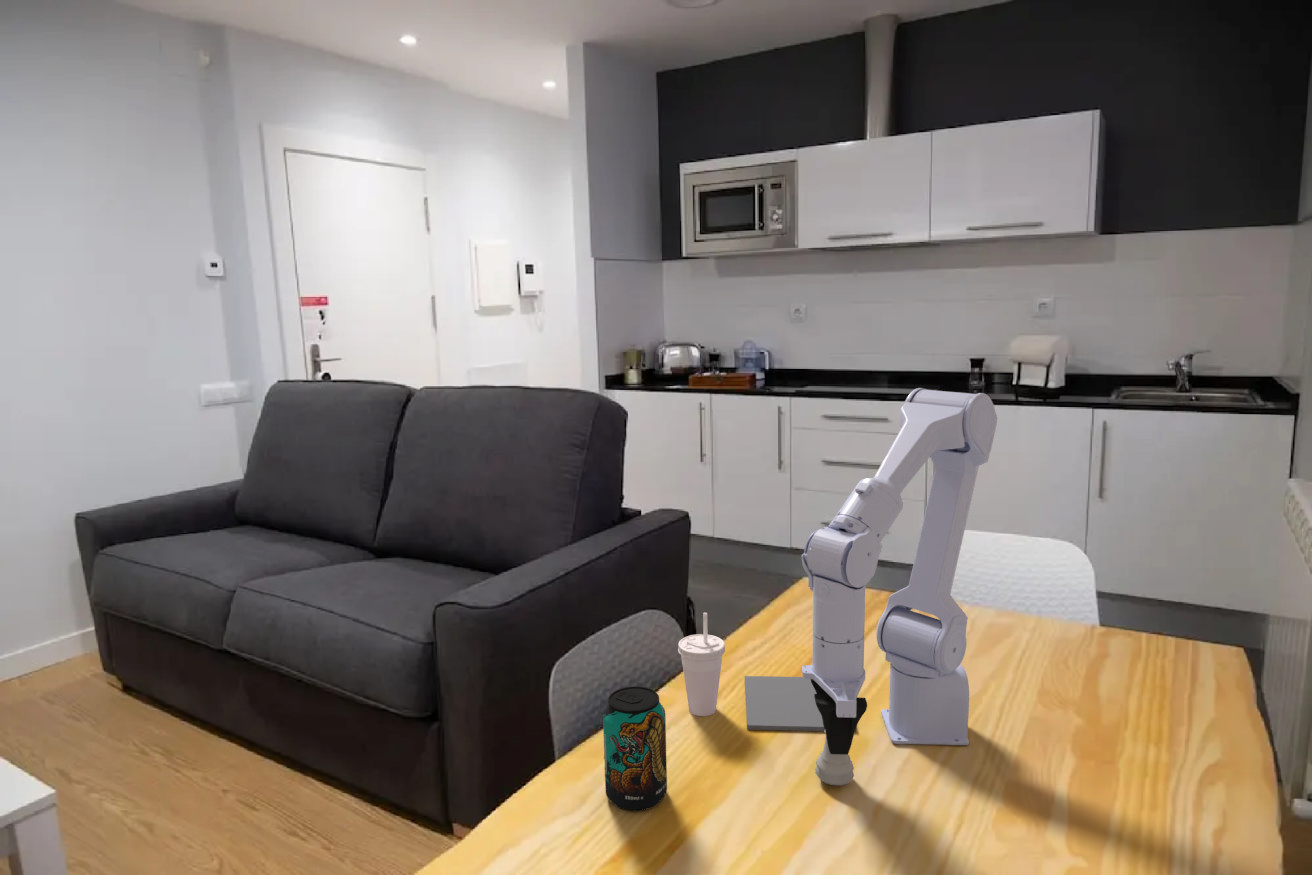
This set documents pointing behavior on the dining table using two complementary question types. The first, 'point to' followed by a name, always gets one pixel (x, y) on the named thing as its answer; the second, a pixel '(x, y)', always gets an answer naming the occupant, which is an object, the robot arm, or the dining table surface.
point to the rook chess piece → (834, 767)
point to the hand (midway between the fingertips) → (836, 743)
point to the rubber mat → (781, 704)
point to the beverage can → (635, 749)
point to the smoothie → (702, 670)
